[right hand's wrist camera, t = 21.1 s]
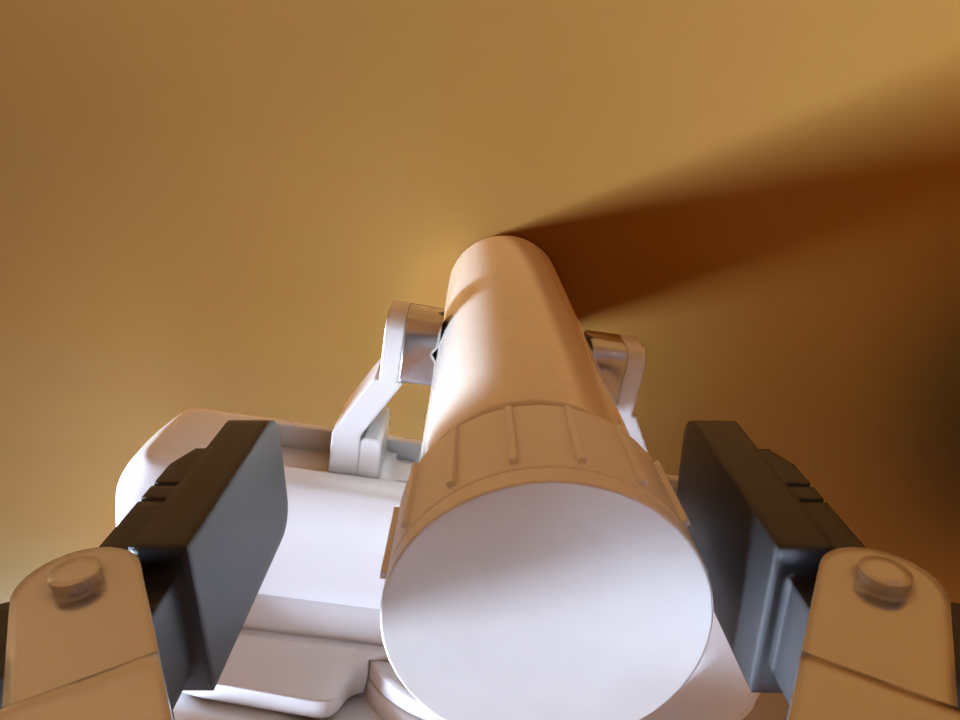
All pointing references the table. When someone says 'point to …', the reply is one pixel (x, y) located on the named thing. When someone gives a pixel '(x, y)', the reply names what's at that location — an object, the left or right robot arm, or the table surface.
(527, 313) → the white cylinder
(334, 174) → the table surface
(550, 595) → the lid
